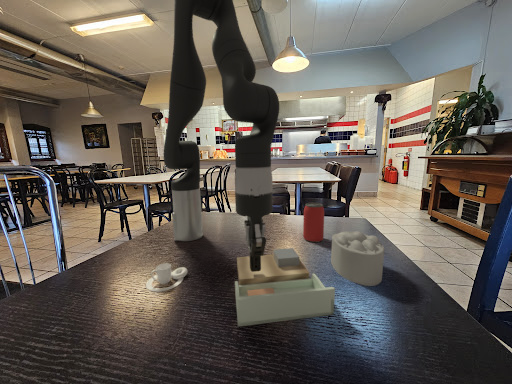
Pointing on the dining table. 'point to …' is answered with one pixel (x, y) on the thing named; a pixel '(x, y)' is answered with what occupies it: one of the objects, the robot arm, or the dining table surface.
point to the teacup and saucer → (166, 276)
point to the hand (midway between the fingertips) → (255, 269)
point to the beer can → (313, 222)
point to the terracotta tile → (260, 291)
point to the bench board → (268, 271)
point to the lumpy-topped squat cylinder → (358, 257)
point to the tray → (284, 301)
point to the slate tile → (285, 257)
